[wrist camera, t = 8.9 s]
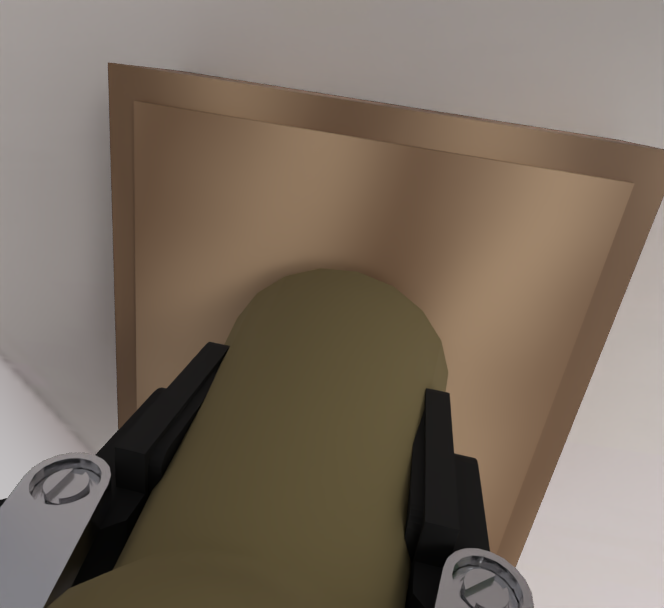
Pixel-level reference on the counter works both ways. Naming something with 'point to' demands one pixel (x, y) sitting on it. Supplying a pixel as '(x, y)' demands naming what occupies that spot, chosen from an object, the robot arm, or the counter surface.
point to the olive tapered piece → (290, 460)
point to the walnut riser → (380, 246)
